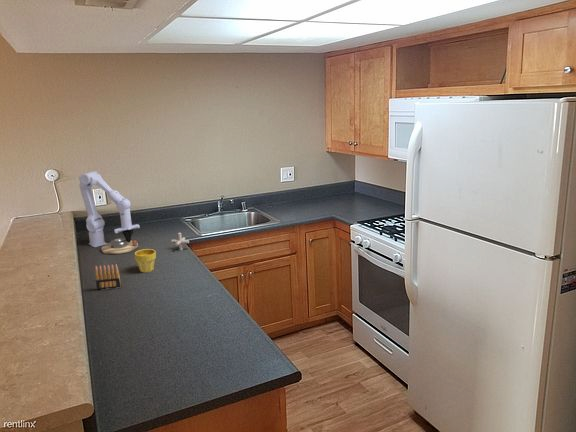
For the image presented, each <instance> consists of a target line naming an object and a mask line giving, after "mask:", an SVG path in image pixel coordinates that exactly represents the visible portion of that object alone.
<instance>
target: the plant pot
mask: <svg viewBox="0 0 576 432" xmlns="http://www.w3.org/2000/svg"><path fill="white" fill-rule="evenodd" d="M156 258H157V252H156V250H155V249H153V248H152V249H151V248H145V249H144V248H143V249H139V250H137V251H135V252H134V259H135V261H136V262H137V266H138V269H139V272H141V273H150V272H153V271H154V268H155V262H156V261H155V260H156ZM152 270H153V271H152Z"/></svg>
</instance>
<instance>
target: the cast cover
mask: <svg viewBox="0 0 576 432" xmlns="http://www.w3.org/2000/svg"><path fill="white" fill-rule="evenodd" d="M109 243H111V248H114V249H118V248H123V247H126V246H127V240H126V238H122V237H121V238H115V239H113V240H110V242H109Z"/></svg>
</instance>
